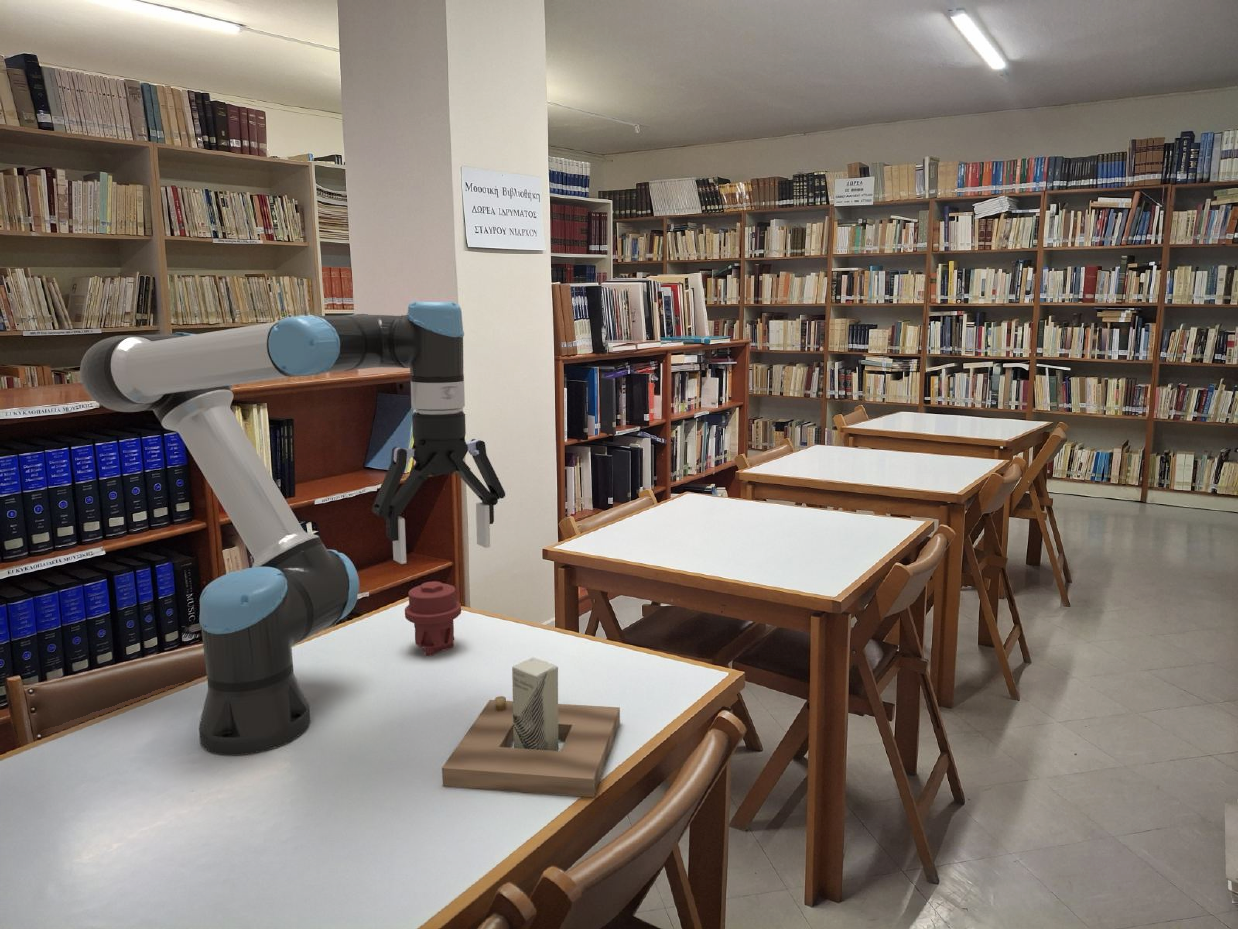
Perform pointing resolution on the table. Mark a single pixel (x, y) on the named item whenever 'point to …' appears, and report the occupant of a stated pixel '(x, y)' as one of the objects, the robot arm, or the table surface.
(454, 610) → the mechanical component
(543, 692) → the box
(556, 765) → the socket board
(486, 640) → the table surface
